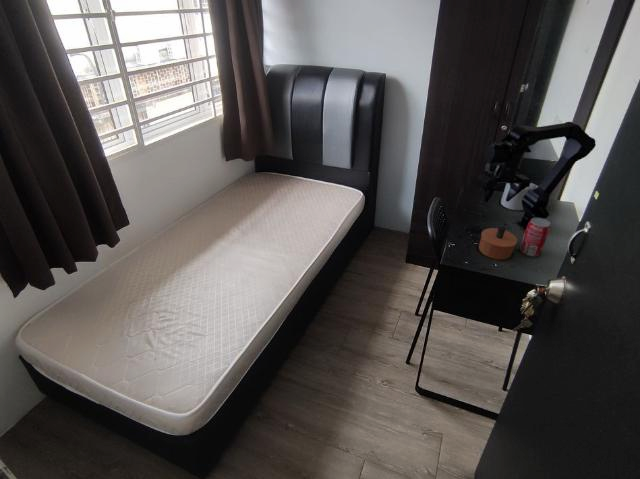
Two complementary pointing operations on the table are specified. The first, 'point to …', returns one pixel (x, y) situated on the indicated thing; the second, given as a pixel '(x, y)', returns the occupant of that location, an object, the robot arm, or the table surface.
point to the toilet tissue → (515, 197)
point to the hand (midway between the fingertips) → (496, 201)
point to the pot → (495, 250)
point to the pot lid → (499, 237)
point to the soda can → (535, 237)
